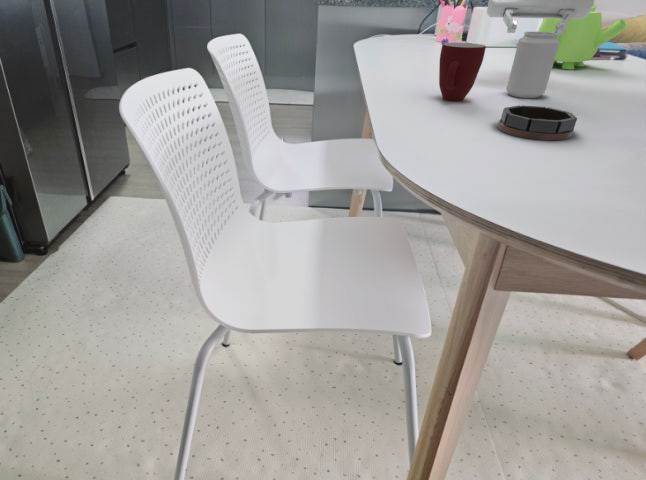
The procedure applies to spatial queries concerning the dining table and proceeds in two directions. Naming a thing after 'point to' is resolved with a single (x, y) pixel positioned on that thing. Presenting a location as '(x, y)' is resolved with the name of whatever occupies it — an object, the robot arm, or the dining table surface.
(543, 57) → the can
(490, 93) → the dining table surface
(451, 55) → the mug
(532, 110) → the base pad
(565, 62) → the teapot
